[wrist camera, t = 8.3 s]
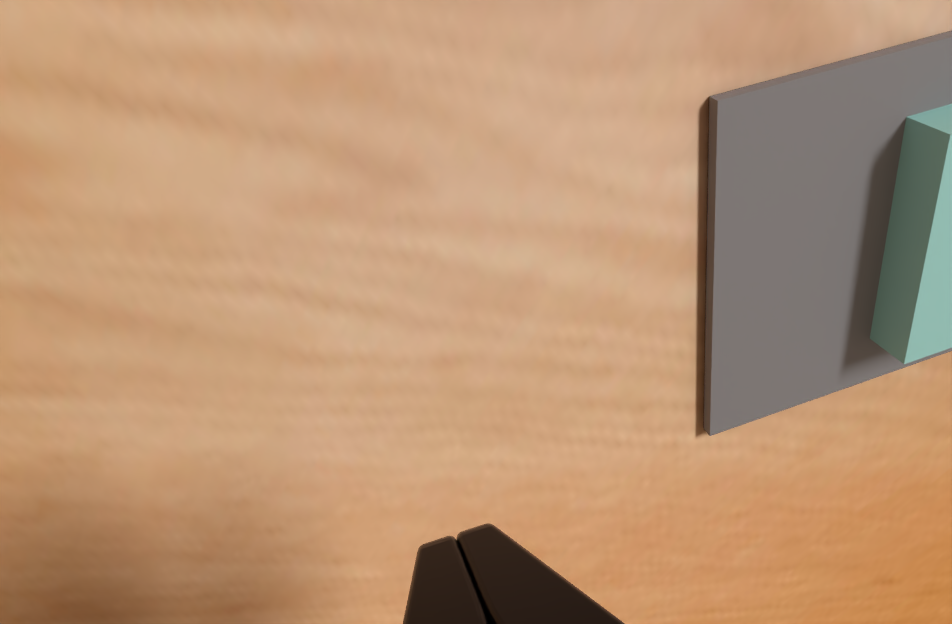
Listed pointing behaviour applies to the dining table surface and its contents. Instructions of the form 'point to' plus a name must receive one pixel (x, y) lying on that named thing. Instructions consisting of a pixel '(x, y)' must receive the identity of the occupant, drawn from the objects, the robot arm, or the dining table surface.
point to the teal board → (918, 244)
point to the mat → (806, 226)
